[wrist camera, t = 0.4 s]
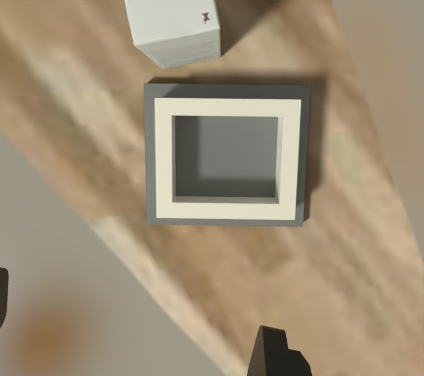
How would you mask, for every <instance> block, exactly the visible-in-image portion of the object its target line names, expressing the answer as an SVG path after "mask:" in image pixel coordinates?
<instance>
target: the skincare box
mask: <svg viewBox="0 0 424 376" xmlns="http://www.w3.org/2000/svg"><path fill="white" fill-rule="evenodd" d="M125 4H126V9H127V14H128V19H129V24H130V29H131V34H132V39H133V44H134V46H135V47H137V48H138V49H139V50H140V51H142V52H143V53H144V54H145V55H146V56H148V57H149V58H150V59H151V60H152V61H153V62H154V63H156V64H157V65H158V66H159V67H160V68H161V69H167V68H172V67H177V66H182V65H187V64H192V63H197V62H201V61H206V60H211V59H216V58H220V57H221V40H220V39H221V37H220V28H221V27H220V22H219V17H218V12H217V7H216V2H215V0H125Z"/></svg>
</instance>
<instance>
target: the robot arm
mask: <svg viewBox="0 0 424 376" xmlns="http://www.w3.org/2000/svg"><path fill="white" fill-rule="evenodd" d="M7 296H8V271H7V269H5V268H1V267H0V328H1V326H2V324H3V322H4V320H5V316H6V312H7ZM247 376H312V373H311V369H310V365H309V364H308V362H307V361H306V359H305V358H304V357H303V355H302V354H301V352H300V351H296V350H291V349H288V344H287V338H286V333H285V330H281V329H276V328H272V327H267V326H263V325H261V326H260V327H259V330H258V334H257V337H256V341H255V345H254V349H253V352H252V356H251V360H250V364H249V368H248V373H247Z"/></svg>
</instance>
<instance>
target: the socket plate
mask: <svg viewBox="0 0 424 376" xmlns="http://www.w3.org/2000/svg"><path fill="white" fill-rule="evenodd" d="M310 94H311V85H247V84H153V83H144V116H145V166H146V217H147V224H158V225H223V226H288V227H303V218H304V200H305V183H306V165H307V147H308V130H309V112H310Z"/></svg>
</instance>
